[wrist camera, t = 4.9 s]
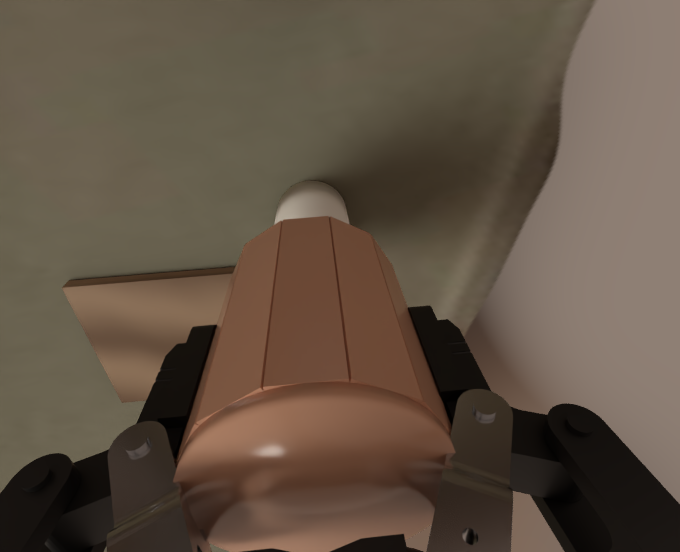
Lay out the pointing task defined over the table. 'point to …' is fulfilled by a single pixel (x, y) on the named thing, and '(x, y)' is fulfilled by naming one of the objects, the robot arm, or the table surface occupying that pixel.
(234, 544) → the faceted terracotta cylinder
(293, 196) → the letter puck
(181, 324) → the walnut mat
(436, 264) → the table surface
